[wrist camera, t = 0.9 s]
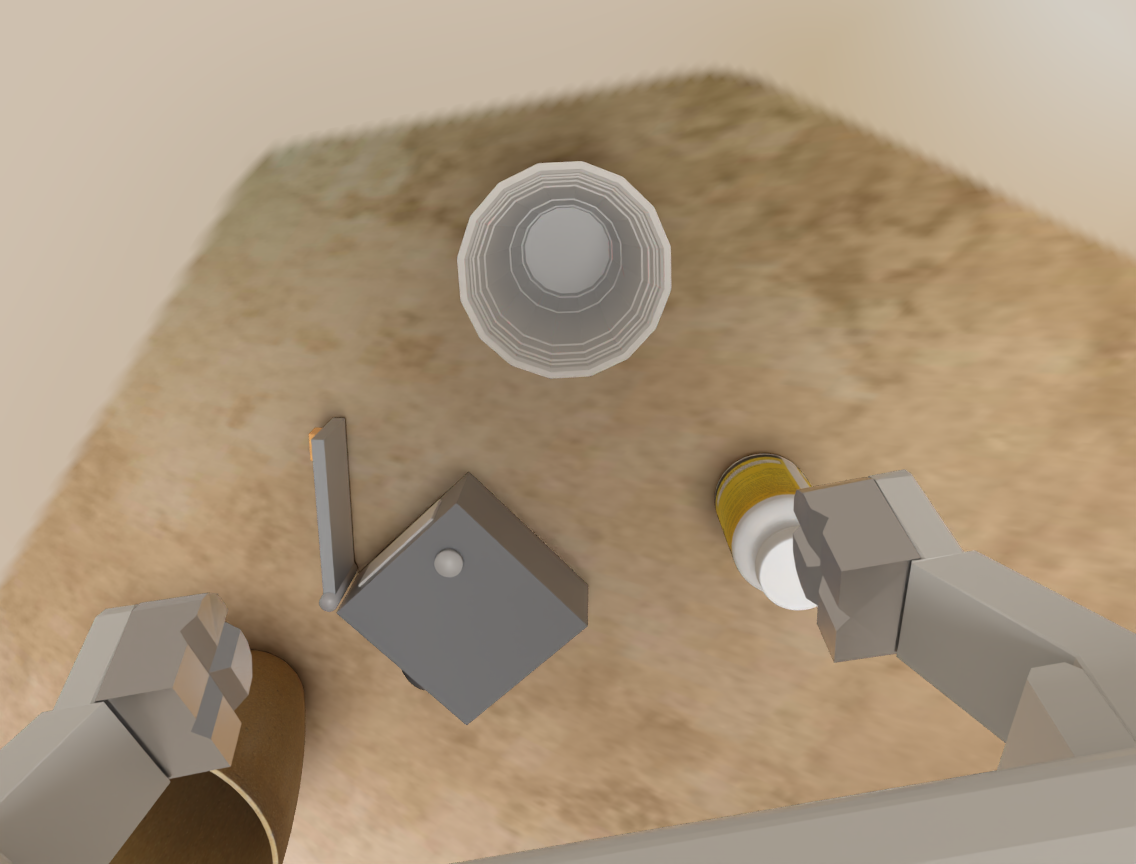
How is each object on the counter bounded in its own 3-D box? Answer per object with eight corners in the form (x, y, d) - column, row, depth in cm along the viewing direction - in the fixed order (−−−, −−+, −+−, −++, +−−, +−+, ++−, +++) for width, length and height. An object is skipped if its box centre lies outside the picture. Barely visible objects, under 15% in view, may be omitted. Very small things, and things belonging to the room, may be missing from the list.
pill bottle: (693, 489, 57) (718, 568, 46) (768, 431, 56) (812, 498, 45) (751, 554, 59) (788, 645, 48) (826, 498, 57) (882, 579, 46)
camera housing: (588, 585, 60) (587, 629, 54) (467, 685, 63) (455, 738, 57) (467, 470, 57) (453, 504, 52) (347, 580, 60) (322, 624, 55)
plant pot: (390, 677, 63) (326, 842, 48) (285, 799, 67) (194, 988, 52) (222, 564, 60) (98, 701, 45) (122, 698, 64) (-23, 866, 49)
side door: (347, 418, 56) (325, 442, 51) (357, 576, 60) (337, 611, 55) (322, 417, 56) (297, 441, 51) (334, 575, 60) (312, 611, 55)
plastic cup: (672, 312, 54) (694, 354, 42) (510, 351, 55) (489, 401, 43) (635, 139, 50) (648, 134, 39) (465, 184, 52) (429, 191, 40)
